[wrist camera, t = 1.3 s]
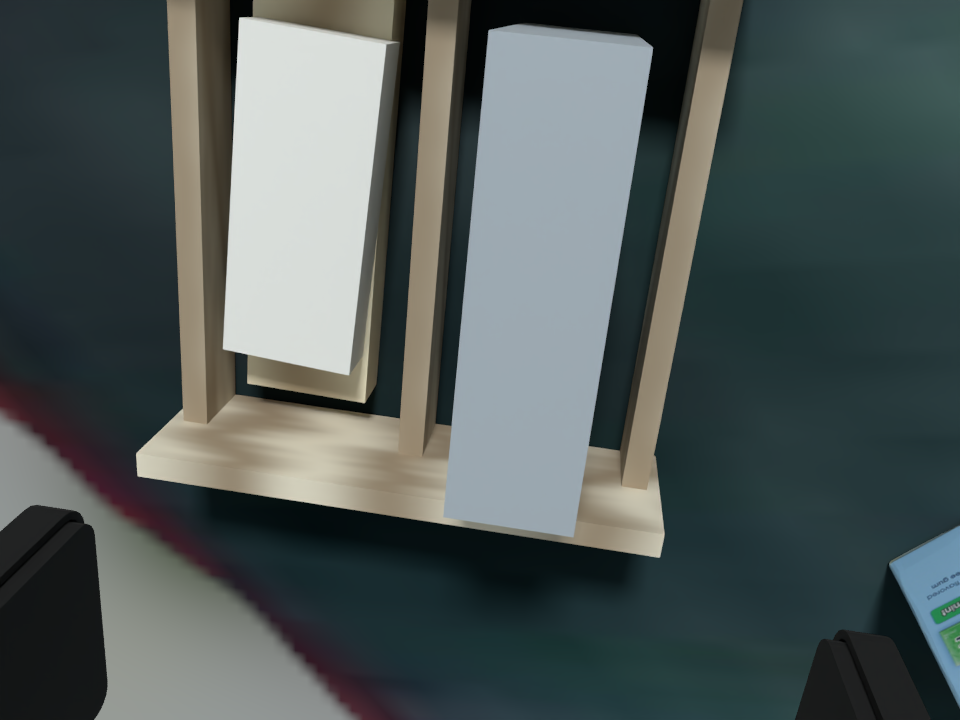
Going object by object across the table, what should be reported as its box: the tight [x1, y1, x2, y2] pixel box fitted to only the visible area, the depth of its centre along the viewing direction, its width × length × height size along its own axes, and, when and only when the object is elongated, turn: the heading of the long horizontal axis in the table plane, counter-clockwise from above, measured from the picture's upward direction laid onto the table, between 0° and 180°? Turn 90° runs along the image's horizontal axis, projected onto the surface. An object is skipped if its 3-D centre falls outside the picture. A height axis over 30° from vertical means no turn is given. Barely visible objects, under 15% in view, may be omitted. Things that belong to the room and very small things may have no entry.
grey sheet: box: [443, 23, 653, 537], centre depth 29 cm, size 4×14×11 cm, turn 174°
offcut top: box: [223, 17, 400, 375], centre depth 32 cm, size 5×12×2 cm, turn 171°
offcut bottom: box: [247, 0, 406, 403], centre depth 34 cm, size 5×16×2 cm, turn 173°
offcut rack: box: [136, 0, 743, 558], centre depth 31 cm, size 20×21×6 cm
